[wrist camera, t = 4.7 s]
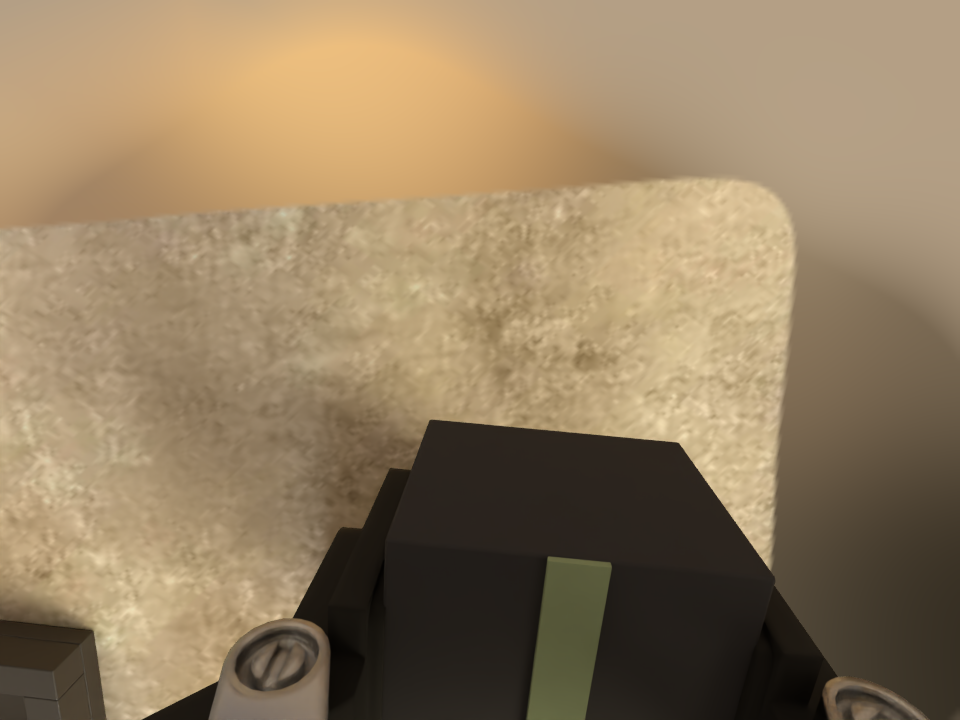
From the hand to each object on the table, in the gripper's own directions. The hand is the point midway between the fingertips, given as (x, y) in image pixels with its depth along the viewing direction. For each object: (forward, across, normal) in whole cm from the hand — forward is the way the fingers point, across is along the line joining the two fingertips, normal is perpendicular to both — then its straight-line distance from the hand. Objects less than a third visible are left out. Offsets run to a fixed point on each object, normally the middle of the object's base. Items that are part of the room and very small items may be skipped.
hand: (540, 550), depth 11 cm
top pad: (0, 0, 0) cm, 0 cm away
